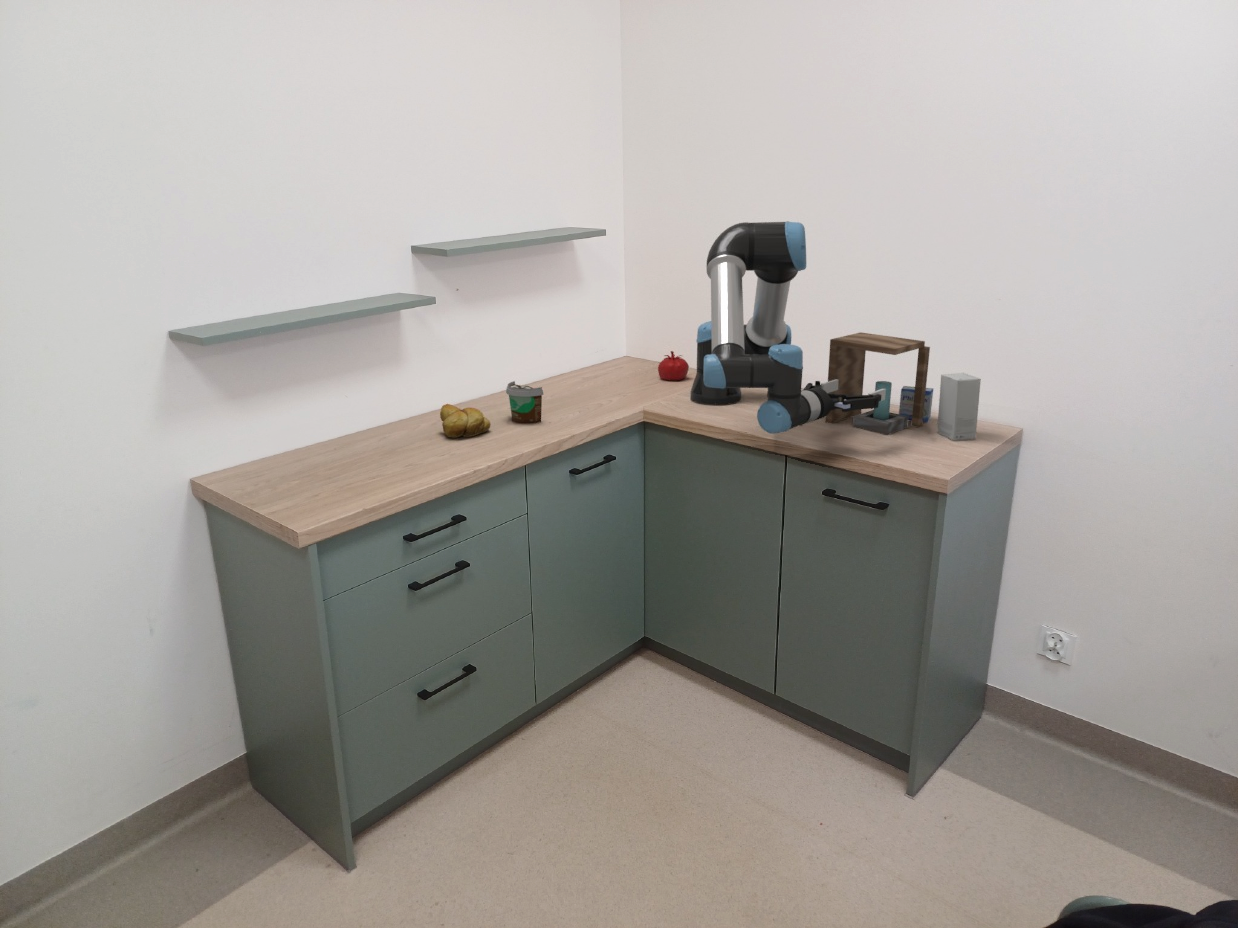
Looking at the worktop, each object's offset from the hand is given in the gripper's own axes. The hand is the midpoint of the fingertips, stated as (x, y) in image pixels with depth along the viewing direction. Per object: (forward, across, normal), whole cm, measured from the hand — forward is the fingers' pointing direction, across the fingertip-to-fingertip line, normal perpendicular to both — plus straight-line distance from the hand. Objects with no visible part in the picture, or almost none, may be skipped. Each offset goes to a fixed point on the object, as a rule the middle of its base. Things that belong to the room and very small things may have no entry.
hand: (860, 389), depth 218 cm
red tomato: (+14, -79, -14) cm, 81 cm away
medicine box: (+24, +2, -13) cm, 28 cm away
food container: (-52, -73, -13) cm, 91 cm away
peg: (+11, 0, -12) cm, 17 cm away
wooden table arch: (+12, -3, -12) cm, 18 cm away
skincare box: (+17, +18, -12) cm, 28 cm away
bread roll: (-70, -73, -13) cm, 102 cm away
